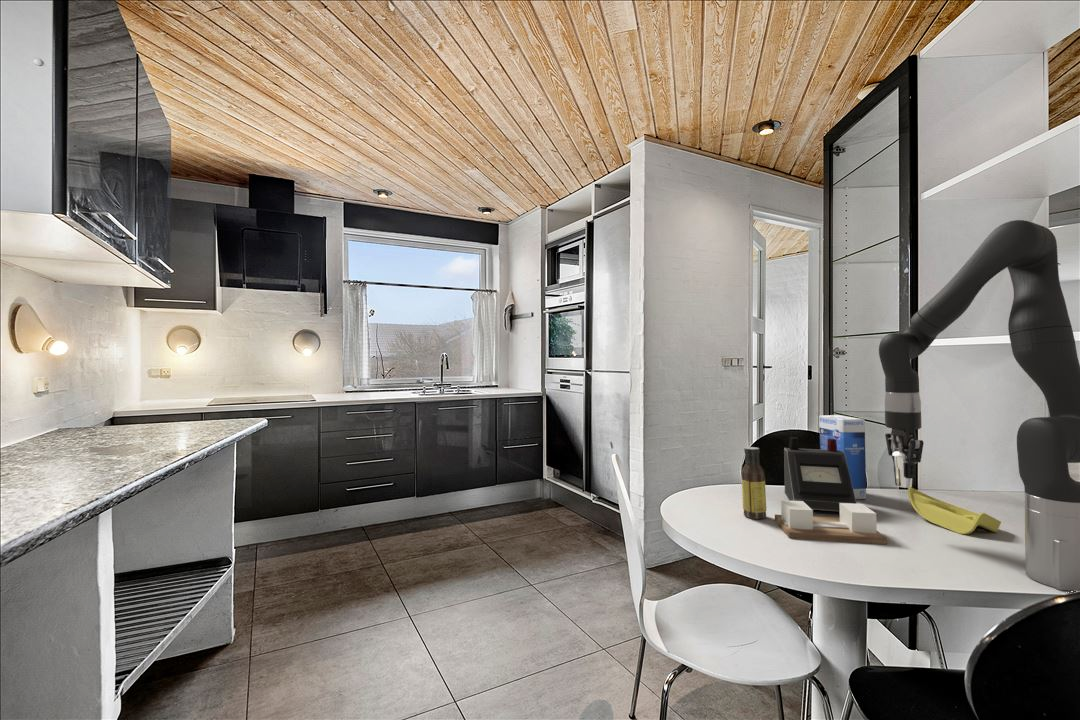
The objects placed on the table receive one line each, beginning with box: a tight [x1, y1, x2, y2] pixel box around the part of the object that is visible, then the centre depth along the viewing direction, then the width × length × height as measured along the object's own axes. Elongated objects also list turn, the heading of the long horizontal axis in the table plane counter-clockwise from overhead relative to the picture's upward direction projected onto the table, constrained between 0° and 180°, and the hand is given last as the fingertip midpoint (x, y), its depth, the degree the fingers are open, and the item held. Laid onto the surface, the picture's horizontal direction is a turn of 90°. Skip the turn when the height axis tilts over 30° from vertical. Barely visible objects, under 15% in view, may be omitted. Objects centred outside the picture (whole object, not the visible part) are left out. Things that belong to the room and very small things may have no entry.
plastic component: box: [907, 487, 1002, 535], centre depth 131 cm, size 20×7×10 cm
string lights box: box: [818, 414, 867, 500], centre depth 159 cm, size 13×8×26 cm, turn 1°
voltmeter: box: [783, 436, 858, 512], centre depth 146 cm, size 16×16×20 cm
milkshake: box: [891, 451, 913, 489], centre depth 122 cm, size 4×5×10 cm
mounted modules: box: [780, 499, 878, 533], centre depth 125 cm, size 8×20×5 cm, turn 77°
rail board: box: [774, 514, 888, 545], centre depth 125 cm, size 14×22×2 cm, turn 77°
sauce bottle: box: [741, 446, 767, 520], centre depth 138 cm, size 6×6×20 cm
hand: (904, 475), depth 123 cm, fingers closed on milkshake, 4 cm apart
